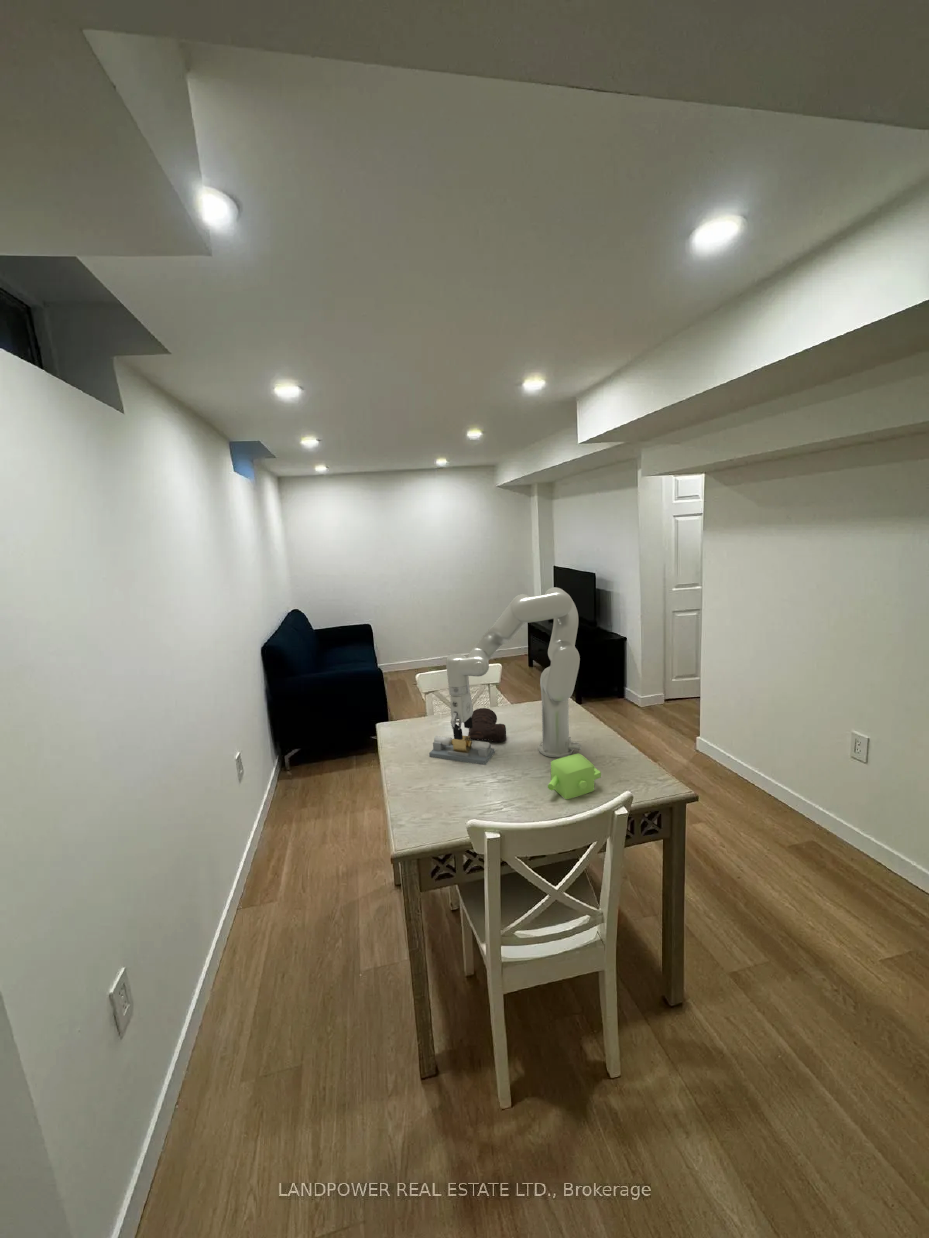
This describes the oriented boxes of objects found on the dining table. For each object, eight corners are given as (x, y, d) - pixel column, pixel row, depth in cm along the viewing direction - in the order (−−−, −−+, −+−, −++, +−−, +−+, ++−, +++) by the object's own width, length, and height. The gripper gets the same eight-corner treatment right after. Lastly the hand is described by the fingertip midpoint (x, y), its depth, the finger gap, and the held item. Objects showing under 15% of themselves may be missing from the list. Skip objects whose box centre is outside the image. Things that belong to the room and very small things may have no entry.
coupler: (473, 749, 181) (473, 736, 180) (469, 754, 177) (468, 741, 176) (455, 746, 184) (454, 734, 183) (450, 752, 180) (449, 739, 179)
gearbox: (555, 808, 145) (555, 779, 143) (538, 790, 154) (538, 763, 152) (605, 792, 152) (606, 764, 150) (586, 776, 161) (586, 750, 158)
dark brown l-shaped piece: (503, 727, 185) (505, 706, 199) (464, 729, 187) (468, 708, 201) (506, 748, 188) (507, 726, 202) (468, 750, 191) (472, 728, 205)
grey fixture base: (494, 752, 181) (494, 737, 180) (485, 764, 172) (484, 749, 171) (440, 745, 190) (440, 730, 189) (429, 756, 181) (428, 741, 180)
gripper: (459, 698, 167) (464, 744, 170) (477, 681, 183) (481, 724, 186) (439, 696, 170) (444, 742, 173) (458, 680, 185) (463, 723, 189)
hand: (463, 733), depth 179 cm, fingers open, 9 cm apart
